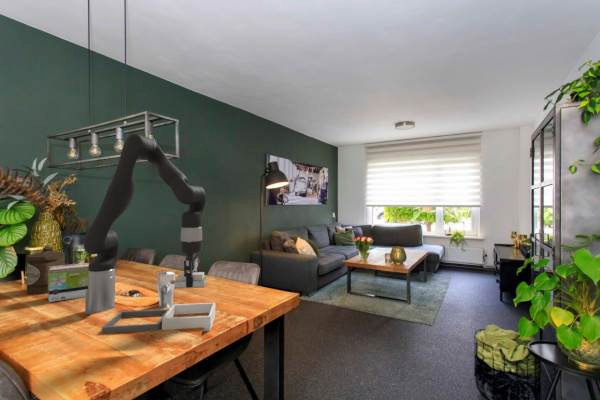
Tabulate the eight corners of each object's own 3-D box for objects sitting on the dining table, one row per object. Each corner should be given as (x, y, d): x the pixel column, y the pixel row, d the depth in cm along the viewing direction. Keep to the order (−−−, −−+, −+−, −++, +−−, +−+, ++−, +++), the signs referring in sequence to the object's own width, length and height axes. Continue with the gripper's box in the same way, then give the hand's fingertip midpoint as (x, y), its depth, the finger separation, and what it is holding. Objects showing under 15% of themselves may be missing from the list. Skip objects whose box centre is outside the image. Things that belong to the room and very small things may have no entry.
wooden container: (24, 290, 149) (25, 246, 149) (61, 284, 160) (62, 243, 161) (29, 296, 139) (29, 249, 140) (68, 289, 151) (68, 246, 151)
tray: (101, 337, 98) (102, 327, 98) (121, 320, 113) (121, 311, 113) (158, 334, 101) (158, 324, 101) (169, 317, 115) (170, 309, 115)
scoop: (168, 288, 106) (168, 282, 106) (172, 284, 111) (173, 278, 111) (204, 287, 108) (204, 281, 108) (206, 283, 113) (206, 277, 113)
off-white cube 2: (190, 285, 108) (191, 274, 108) (193, 282, 112) (193, 272, 112) (202, 285, 109) (202, 274, 109) (204, 282, 112) (204, 272, 113)
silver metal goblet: (153, 310, 123) (153, 274, 123) (165, 304, 130) (166, 270, 130) (166, 312, 121) (166, 275, 121) (178, 306, 127) (179, 271, 127)
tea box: (48, 303, 130) (49, 269, 130) (47, 297, 138) (48, 266, 138) (90, 296, 140) (90, 265, 140) (87, 291, 148) (87, 261, 148)
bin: (161, 333, 101) (162, 319, 101) (173, 317, 116) (173, 304, 116) (210, 330, 104) (210, 316, 104) (215, 315, 118) (215, 302, 118)
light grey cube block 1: (177, 286, 107) (177, 275, 107) (180, 283, 111) (180, 272, 111) (189, 285, 108) (189, 274, 108) (191, 282, 112) (191, 272, 112)
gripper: (185, 237, 116) (184, 280, 116) (176, 242, 102) (175, 291, 102) (205, 237, 118) (204, 279, 117) (198, 241, 103) (198, 290, 103)
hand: (191, 284), depth 110 cm, fingers closed on scoop, 5 cm apart
